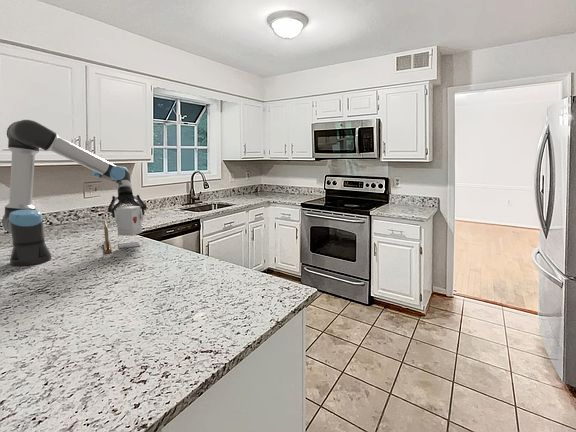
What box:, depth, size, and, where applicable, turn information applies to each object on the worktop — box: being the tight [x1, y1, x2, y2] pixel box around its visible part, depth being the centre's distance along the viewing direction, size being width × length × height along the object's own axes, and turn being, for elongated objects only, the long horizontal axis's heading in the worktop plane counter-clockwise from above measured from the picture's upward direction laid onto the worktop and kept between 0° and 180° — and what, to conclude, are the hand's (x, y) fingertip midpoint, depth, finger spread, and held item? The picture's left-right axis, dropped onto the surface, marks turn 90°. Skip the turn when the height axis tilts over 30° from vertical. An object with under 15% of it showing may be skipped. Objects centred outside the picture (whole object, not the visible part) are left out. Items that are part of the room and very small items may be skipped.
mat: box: [118, 241, 141, 250], centre depth 184 cm, size 10×10×1 cm
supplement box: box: [116, 205, 143, 237], centre depth 182 cm, size 9×9×15 cm
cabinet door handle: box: [103, 220, 113, 254], centre depth 178 cm, size 3×22×15 cm, turn 30°
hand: (129, 220), depth 181 cm, fingers closed on supplement box, 12 cm apart
